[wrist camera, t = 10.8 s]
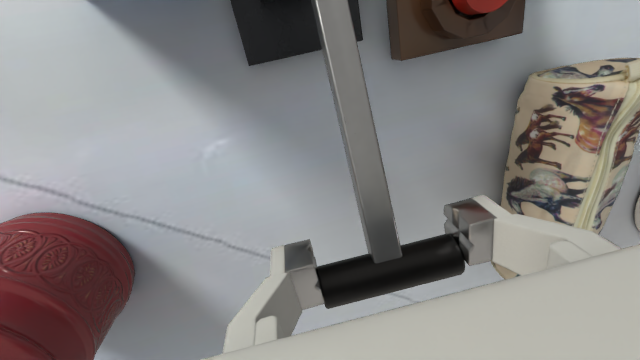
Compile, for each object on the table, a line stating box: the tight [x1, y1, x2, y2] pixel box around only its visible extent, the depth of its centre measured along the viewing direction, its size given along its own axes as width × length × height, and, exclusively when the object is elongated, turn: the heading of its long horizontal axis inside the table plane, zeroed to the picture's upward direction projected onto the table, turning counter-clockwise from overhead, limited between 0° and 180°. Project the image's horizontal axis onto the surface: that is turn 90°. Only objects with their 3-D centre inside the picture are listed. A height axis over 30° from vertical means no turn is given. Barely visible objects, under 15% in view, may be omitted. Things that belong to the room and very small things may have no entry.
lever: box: [311, 0, 465, 309], centre depth 11 cm, size 16×5×2 cm, turn 12°
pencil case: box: [491, 58, 640, 280], centre depth 27 cm, size 22×8×10 cm, turn 5°
